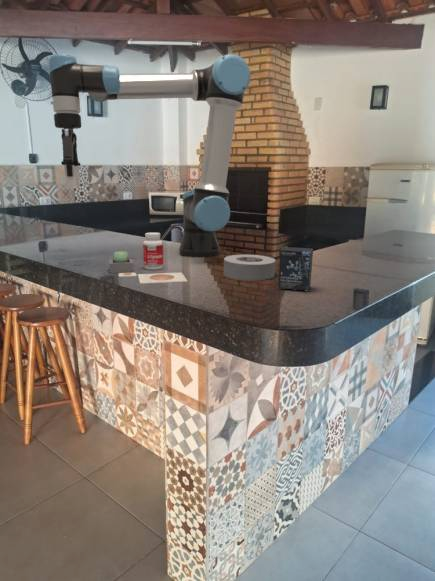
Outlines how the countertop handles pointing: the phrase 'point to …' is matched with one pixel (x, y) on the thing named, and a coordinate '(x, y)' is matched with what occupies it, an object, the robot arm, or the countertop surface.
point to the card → (127, 274)
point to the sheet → (161, 278)
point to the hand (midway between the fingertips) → (73, 187)
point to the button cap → (120, 256)
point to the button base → (121, 266)
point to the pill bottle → (153, 251)
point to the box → (295, 268)
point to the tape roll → (249, 267)
